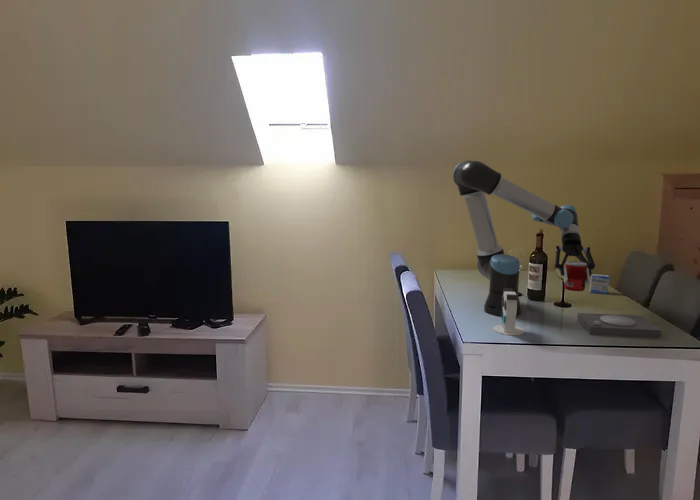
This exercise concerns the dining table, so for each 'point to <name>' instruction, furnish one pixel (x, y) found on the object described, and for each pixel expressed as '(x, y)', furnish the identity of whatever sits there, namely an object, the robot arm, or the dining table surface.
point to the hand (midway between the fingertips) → (577, 282)
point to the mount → (618, 325)
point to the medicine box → (599, 284)
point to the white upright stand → (509, 314)
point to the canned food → (576, 275)
